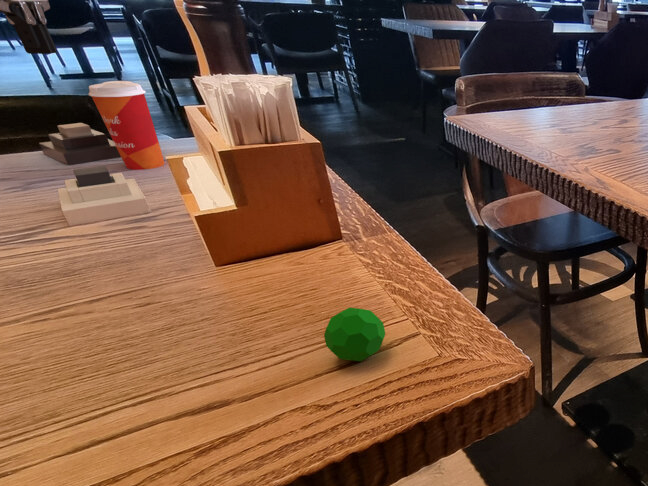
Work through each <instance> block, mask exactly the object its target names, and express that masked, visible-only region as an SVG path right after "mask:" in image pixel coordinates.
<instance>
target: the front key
mask: <svg viewBox="0 0 648 486" xmlns="http://www.w3.org/2000/svg"><path fill="white" fill-rule="evenodd" d="M73 174H74V176H75V179H77V181H78V183H79V185H80V187H86V186H93V185H100V184H108V183H113V181H112V179H111V176H110V174H111V173H110V172H109V170H108V168H107V166H106V165H101V166H95V167H86V168H78V169H77V168H75V169H73Z"/></svg>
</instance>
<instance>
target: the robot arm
mask: <svg viewBox="0 0 648 486" xmlns="http://www.w3.org/2000/svg"><path fill="white" fill-rule="evenodd" d="M50 9H51V5H50V3H49V0H0V13H1V14H3V15H4V16H5V18H6V19H7V21H8V23H9V24H11V25H13V28H14V29H15V31H16V34H17V36H18V38H19V40H20V42H21V44H22V47H23V49H24V51H25V52H26V53H27V54H30V55H31V54H32V55H35V54H36V55H50V54H56V53H58V49H57V47H56V45H55V43H54V41H53V38H52V36H51V34H50V31H49V29H48V26H47V24H48V22H47V21H48V20H47V19H46V15H45V12H46V11H48V10H50Z"/></svg>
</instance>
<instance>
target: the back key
mask: <svg viewBox="0 0 648 486" xmlns="http://www.w3.org/2000/svg"><path fill="white" fill-rule="evenodd" d="M57 128H58V131H59V133H61V135H62V136H64V137H66V138H70V137H78V136H85V135H93V133H92V131H91V129H92V128H91V127H90V125H88V124H86V123H83V122H77V123H68V124H59V125H57Z"/></svg>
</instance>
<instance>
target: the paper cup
mask: <svg viewBox="0 0 648 486" xmlns="http://www.w3.org/2000/svg"><path fill="white" fill-rule="evenodd" d="M88 90H89V92H88V96H89V97H91V98H92V100H93V102H94V104H95V106H96V109H97V110H98V113H99V114H100V117H101V118H102V121H103V123H104V125H105V127H106V129H107V131H108V133H109V136H110V137H111V139H112V141H114V143H115V145H116V147H117V149H118V152H119V154H120V156H121V157H120V158H121V160H122V162H123V163H124V166H125V167H126V169H127V170H130V171H131V170H133V171H141V170H142V171H143V170H152V169H156V168H160V167H164V165H165V160H164V156H163V151H162V148H161V146H160V142H159V138H158V135H157V132H156V128H155V125H154V121H153V118H152V115H151V112H150V109H149V105H148V102H147V99H146V95H145V94H146V93H147V91H146V90H145V89H143V87H142V86H141V85H140V83H135V82H133V83H108V84H102V83H97V84H96V83H95V84H91V85H89V86H88Z"/></svg>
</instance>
